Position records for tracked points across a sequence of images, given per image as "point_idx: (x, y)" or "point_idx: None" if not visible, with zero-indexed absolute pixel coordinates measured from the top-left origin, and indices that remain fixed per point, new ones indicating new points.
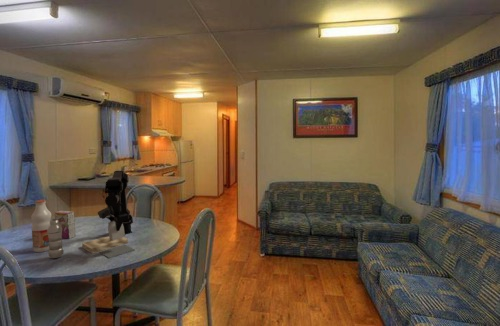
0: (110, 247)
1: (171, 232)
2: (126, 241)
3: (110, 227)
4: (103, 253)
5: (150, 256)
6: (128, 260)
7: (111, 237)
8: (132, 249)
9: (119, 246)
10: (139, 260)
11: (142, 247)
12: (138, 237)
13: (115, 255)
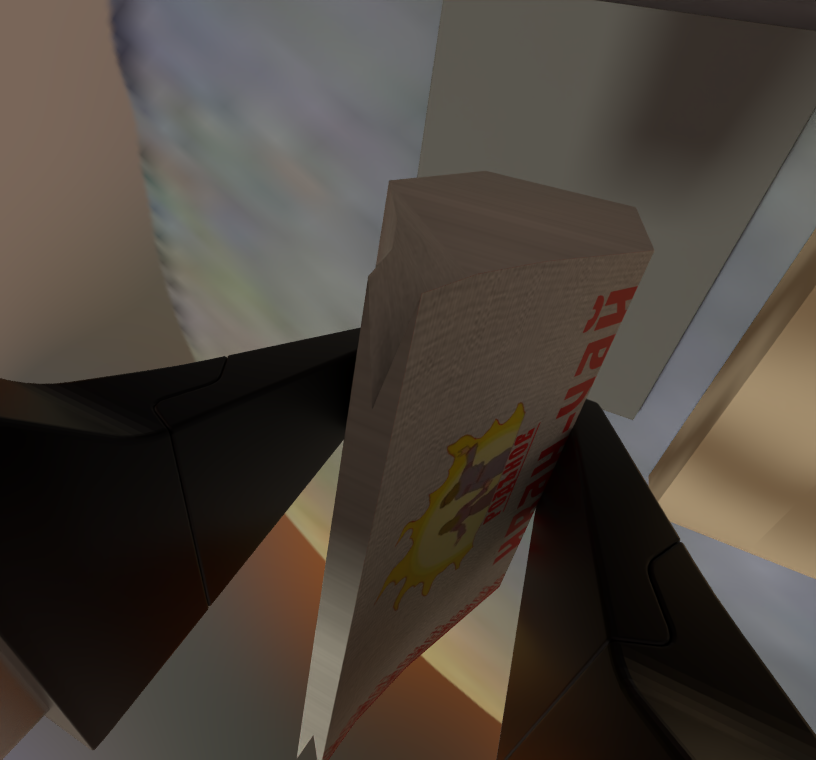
0: (780, 285)
1: (460, 674)
2: (658, 478)
3: (389, 220)
4: (686, 34)
5: (179, 270)
6: (219, 99)
7: (514, 184)
8: None
9: (650, 352)
10: (159, 160)
11: None
12: None
13: (431, 97)
